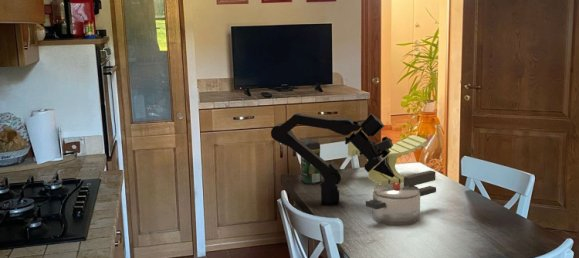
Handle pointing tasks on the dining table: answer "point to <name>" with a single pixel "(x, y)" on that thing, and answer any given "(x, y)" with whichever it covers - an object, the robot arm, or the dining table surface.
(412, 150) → the slatted curved stool
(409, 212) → the pressure cooker pot
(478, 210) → the dining table surface
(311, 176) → the coffee jar
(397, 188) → the pressure cooker lid
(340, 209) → the dining table surface
